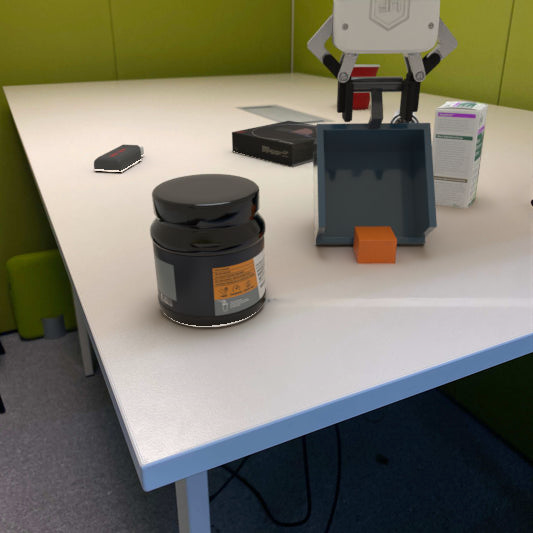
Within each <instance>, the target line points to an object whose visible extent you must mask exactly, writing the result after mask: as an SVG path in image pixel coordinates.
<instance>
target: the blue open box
mask: <svg viewBox="0 0 533 533" xmlns="http://www.w3.org/2000/svg"><path fill="white" fill-rule="evenodd" d="M403 80H404V78H403V76H376V77H352V78H351V82H352V83H353V84H354V93H358V92H370V103H369V108H370V117H369V119H368V122H366V123H365V122H364V123H361V122H360V123H359V122H356V123H316V124H315V125H316V132H315V139H314V146H313V161H312V164H313V165H312V167H313V168H312V171H313V175H312V176H313V226H314V228H313V233H314V246H354V230H355V227H360V226H390V227H391V229H392V231H393V233H394V235H395V237H396V239H397V246H424V245H426V238H427V237H428V236H429V235H430V234H431V233H432V232H433V231H434V230H435V229H436V228H437V227H438V224H437V222H438V221H437V220H438V219H437V206H436V204H435V188H434V173H433V157H432V141H433V140H432V127H431V122H419V123H390V122H383V120H384V101H383V93H401V91H402V88H403Z"/></svg>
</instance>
